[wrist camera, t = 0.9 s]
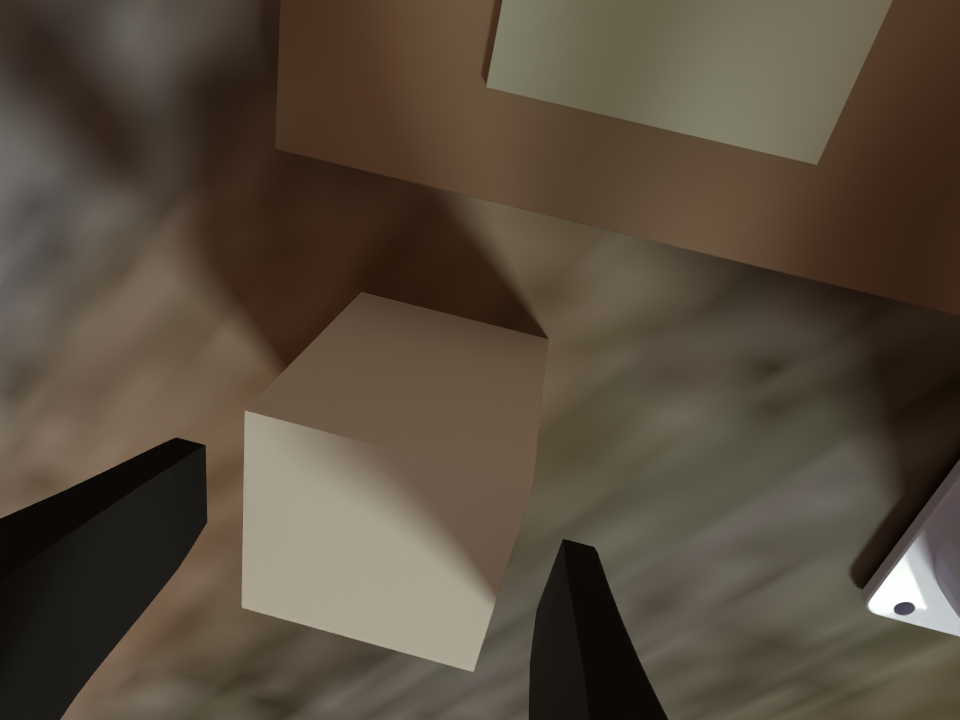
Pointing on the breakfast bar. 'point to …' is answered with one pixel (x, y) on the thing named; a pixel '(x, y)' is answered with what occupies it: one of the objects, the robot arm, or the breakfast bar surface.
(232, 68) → the breakfast bar surface
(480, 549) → the cream block
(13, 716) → the robot arm
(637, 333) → the breakfast bar surface
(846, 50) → the walnut base
